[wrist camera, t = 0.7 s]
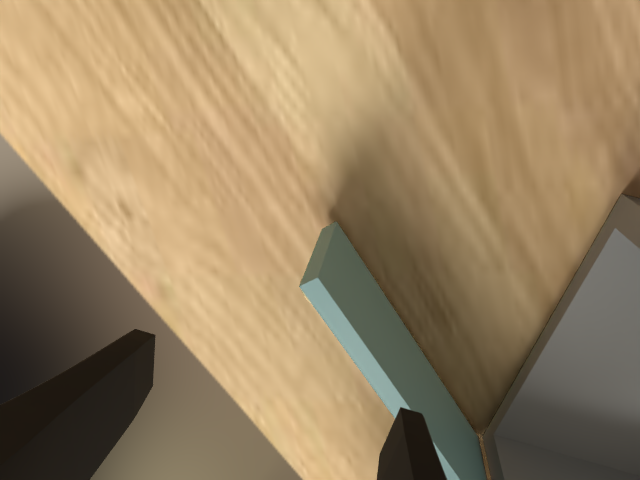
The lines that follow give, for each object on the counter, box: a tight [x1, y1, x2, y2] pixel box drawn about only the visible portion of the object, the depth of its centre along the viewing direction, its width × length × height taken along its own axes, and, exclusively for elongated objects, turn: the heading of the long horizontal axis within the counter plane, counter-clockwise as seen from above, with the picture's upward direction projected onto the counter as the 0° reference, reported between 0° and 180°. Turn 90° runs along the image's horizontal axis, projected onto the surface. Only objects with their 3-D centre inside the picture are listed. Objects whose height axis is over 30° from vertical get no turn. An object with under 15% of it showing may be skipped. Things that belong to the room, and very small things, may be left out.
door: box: [299, 221, 487, 480], centre depth 19 cm, size 15×2×5 cm, turn 33°
